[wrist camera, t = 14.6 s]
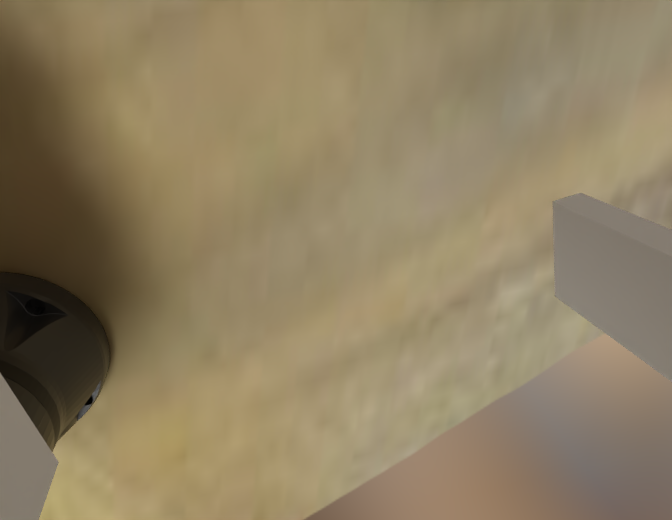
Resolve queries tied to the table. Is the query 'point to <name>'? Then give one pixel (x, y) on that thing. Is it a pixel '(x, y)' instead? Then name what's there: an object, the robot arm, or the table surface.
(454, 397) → the table surface
